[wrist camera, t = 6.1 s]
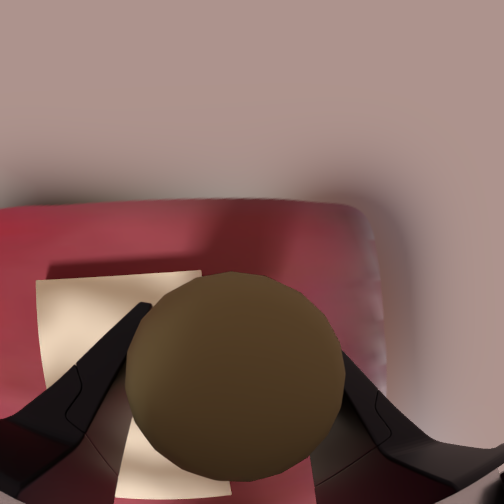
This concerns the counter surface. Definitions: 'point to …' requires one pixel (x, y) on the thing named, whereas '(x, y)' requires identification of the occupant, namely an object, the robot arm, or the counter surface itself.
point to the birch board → (87, 335)
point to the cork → (234, 377)
